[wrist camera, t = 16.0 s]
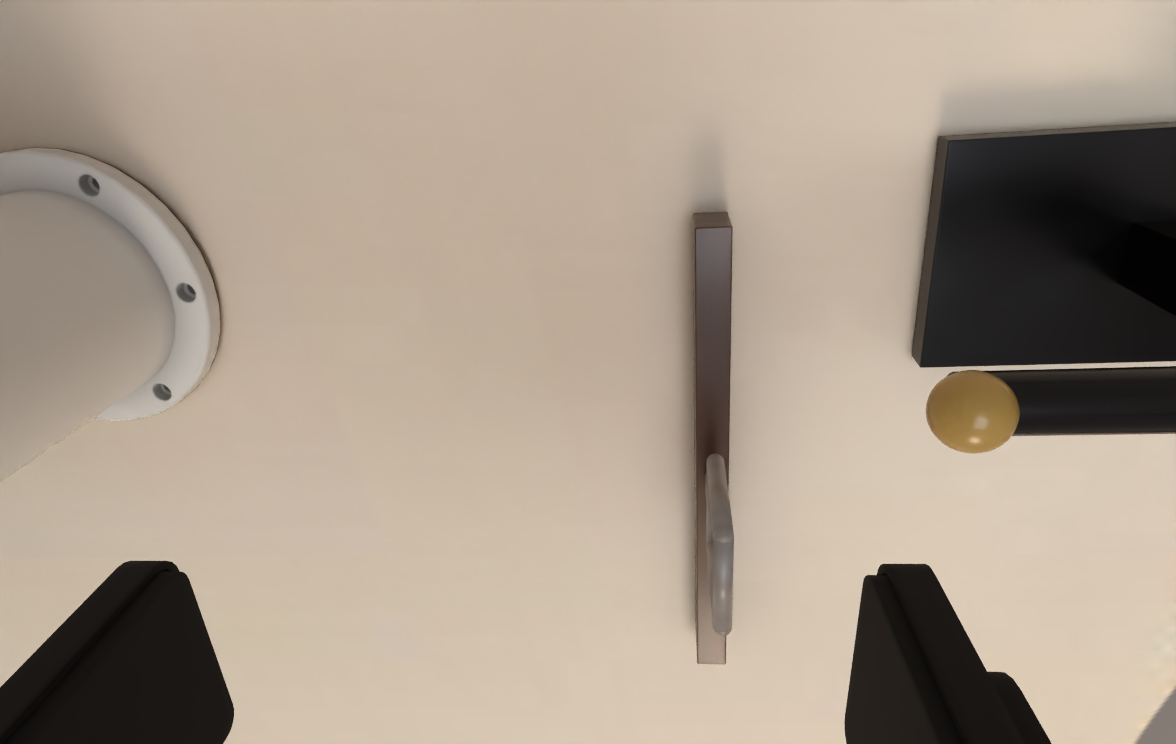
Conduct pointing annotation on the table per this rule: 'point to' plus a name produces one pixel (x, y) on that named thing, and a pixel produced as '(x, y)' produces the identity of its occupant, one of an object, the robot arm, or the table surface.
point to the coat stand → (1050, 283)
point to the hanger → (712, 433)
